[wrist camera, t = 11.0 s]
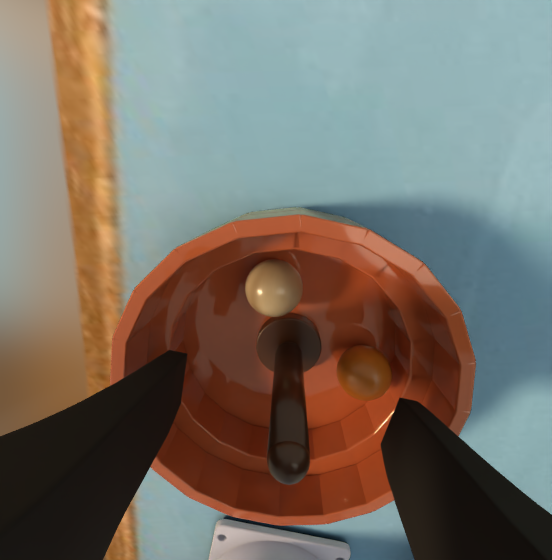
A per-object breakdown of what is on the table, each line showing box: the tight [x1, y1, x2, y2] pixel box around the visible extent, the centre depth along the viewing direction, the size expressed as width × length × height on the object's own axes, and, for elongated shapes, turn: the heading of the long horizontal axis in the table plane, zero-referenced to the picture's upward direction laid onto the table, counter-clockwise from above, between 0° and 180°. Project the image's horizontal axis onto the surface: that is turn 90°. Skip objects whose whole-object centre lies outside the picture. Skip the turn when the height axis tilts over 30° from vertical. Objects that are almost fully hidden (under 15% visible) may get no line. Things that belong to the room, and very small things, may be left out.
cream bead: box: [245, 259, 303, 317], centre depth 11 cm, size 2×2×2 cm
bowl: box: [110, 207, 476, 526], centre depth 12 cm, size 12×12×4 cm
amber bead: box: [337, 345, 392, 401], centre depth 12 cm, size 2×2×2 cm
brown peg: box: [256, 313, 321, 485], centre depth 10 cm, size 3×3×6 cm
